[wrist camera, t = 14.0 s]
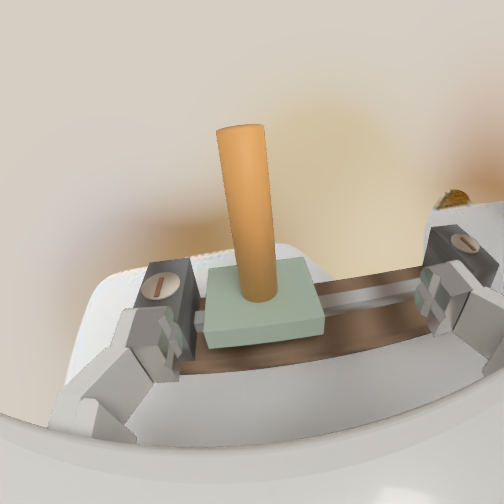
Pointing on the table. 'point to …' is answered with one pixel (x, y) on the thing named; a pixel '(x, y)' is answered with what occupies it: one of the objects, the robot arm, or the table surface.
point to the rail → (333, 304)
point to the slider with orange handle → (255, 258)
